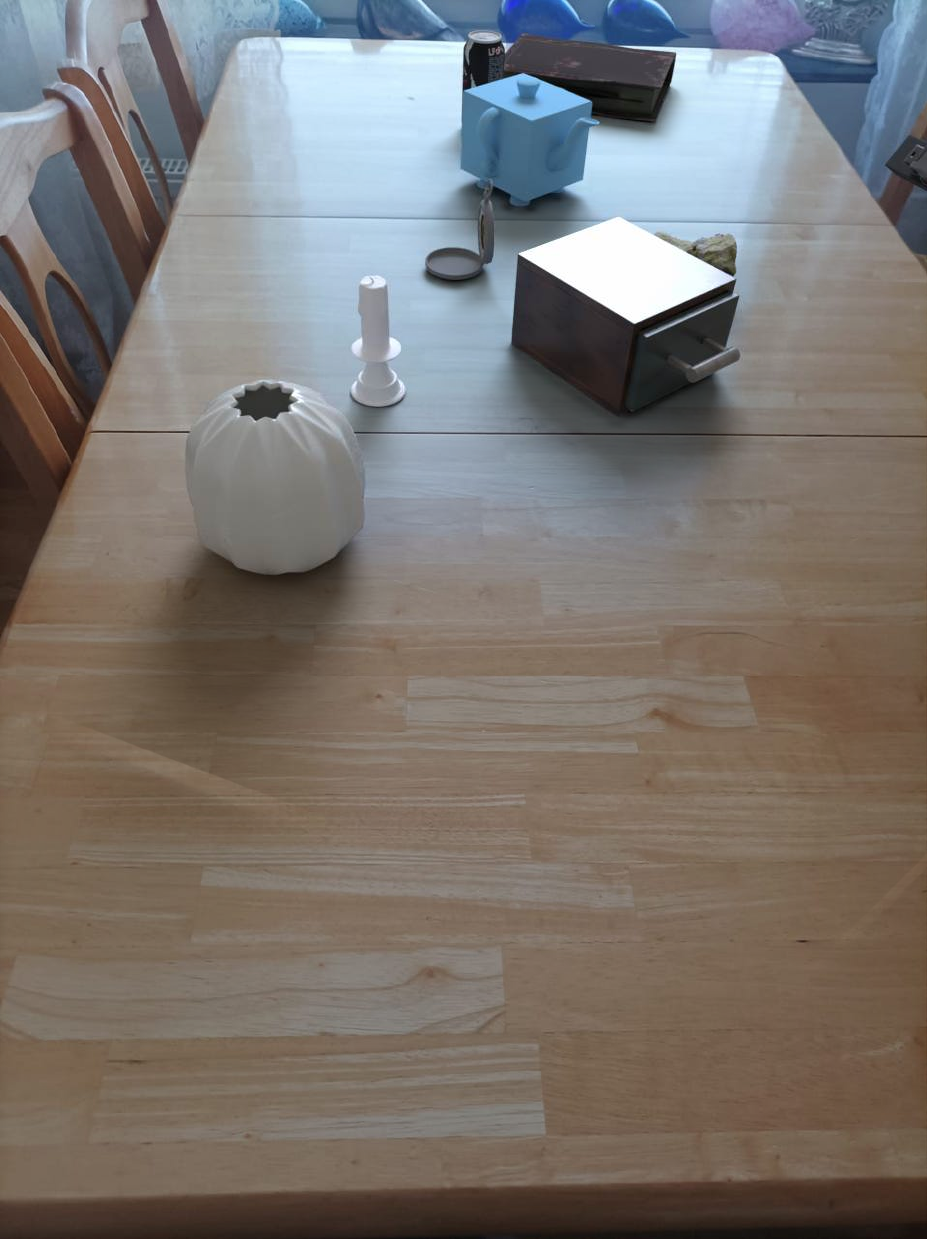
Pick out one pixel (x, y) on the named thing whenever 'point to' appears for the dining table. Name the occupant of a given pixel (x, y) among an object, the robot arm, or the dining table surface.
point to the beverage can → (482, 59)
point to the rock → (709, 250)
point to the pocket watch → (465, 261)
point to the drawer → (682, 350)
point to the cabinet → (603, 302)
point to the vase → (274, 478)
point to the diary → (597, 73)
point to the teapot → (524, 136)
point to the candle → (376, 348)
